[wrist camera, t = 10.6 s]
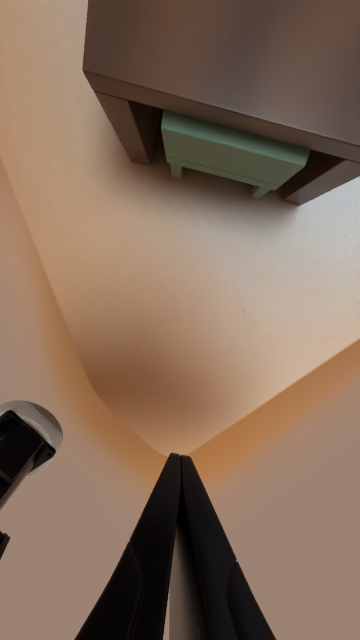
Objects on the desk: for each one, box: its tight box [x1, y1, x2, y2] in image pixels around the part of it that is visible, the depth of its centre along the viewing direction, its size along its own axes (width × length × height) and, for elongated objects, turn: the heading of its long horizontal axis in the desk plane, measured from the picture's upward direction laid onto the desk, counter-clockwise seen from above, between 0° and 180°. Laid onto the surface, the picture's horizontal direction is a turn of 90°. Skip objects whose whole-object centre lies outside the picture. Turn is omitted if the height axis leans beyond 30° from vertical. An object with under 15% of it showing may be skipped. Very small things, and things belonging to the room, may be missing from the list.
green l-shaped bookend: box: [161, 109, 311, 199], centre depth 12 cm, size 7×7×6 cm
